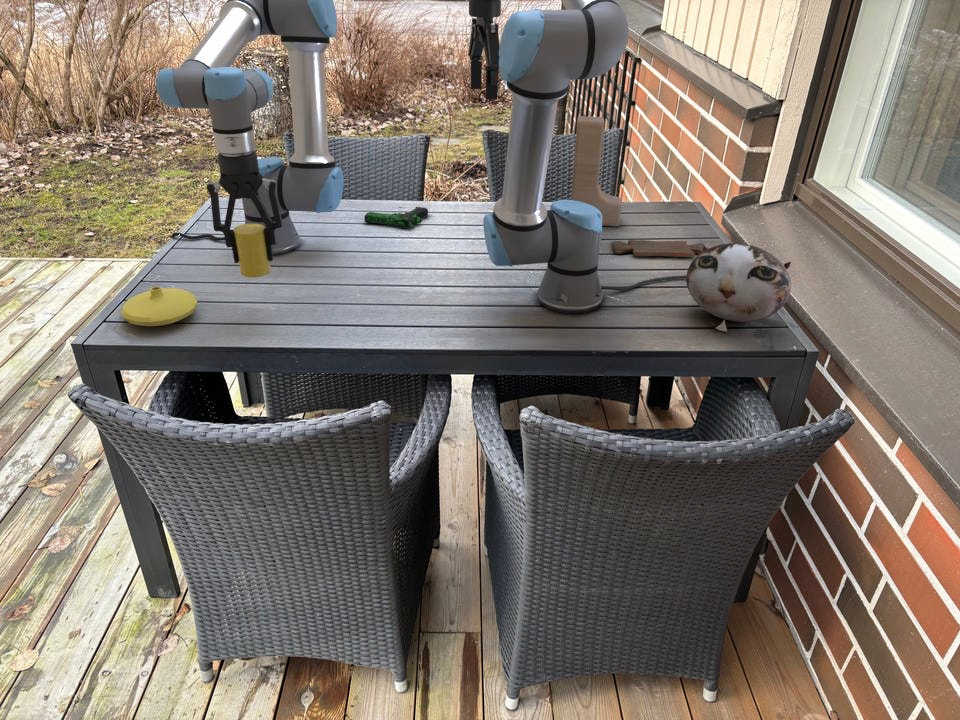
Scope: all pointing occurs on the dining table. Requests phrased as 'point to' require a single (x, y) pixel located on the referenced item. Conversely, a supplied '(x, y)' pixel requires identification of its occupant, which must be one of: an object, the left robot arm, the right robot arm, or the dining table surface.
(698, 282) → the plush toy
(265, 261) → the tin
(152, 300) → the vase
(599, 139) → the decorative block
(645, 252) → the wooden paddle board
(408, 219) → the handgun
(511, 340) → the dining table surface
